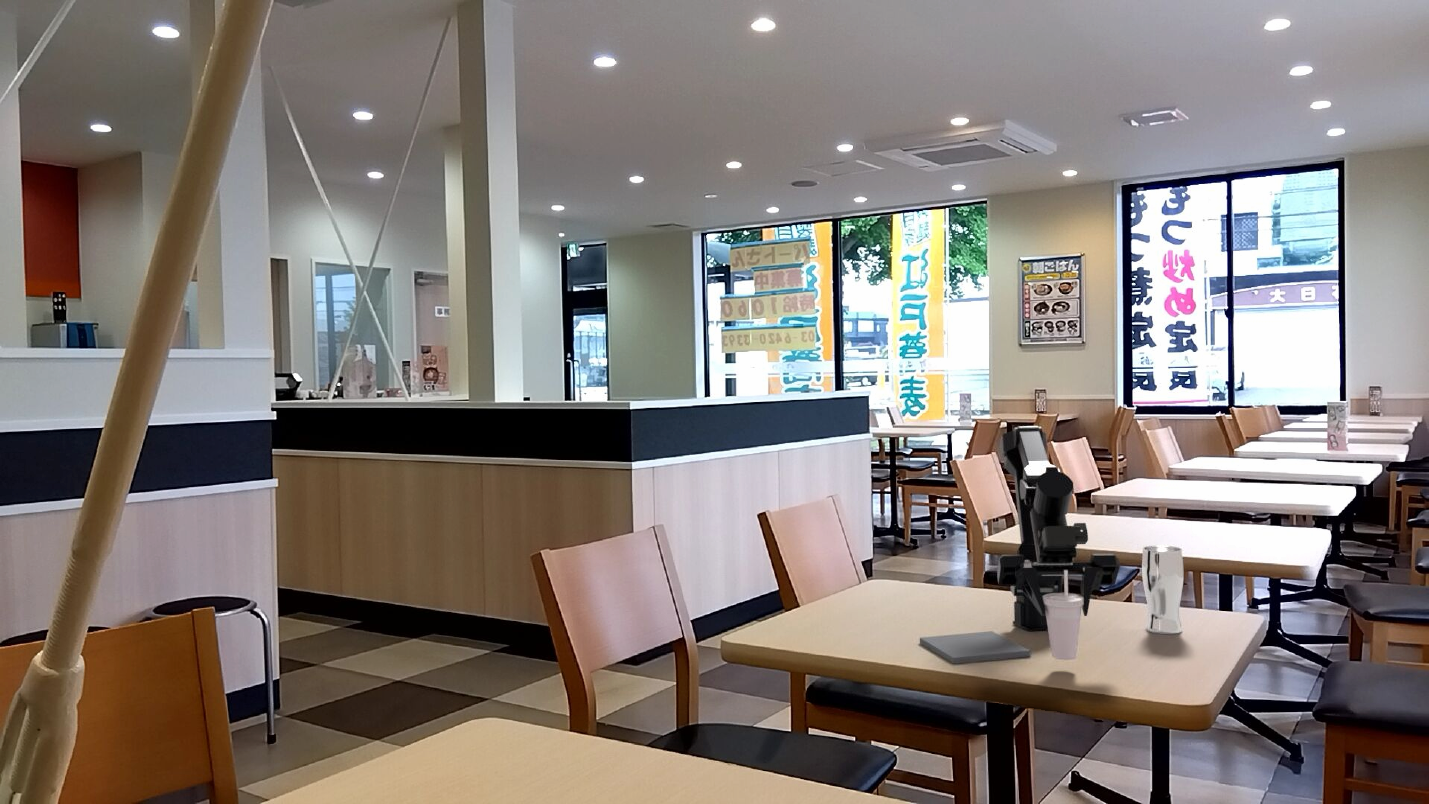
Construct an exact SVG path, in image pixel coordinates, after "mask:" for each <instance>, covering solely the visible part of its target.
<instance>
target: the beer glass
mask: <svg viewBox="0 0 1429 804" xmlns="http://www.w3.org/2000/svg"><path fill="white" fill-rule="evenodd" d="M1182 551H1183V550H1182V548H1180V547H1178V546H1173V545H1172V546H1171V545H1148V546H1143V547H1142V560H1141V561H1142V562H1141V576H1142V583H1143V589H1144V593H1145V599H1146V603H1147V604H1146V605H1147V619H1146V624H1145V630H1146V631H1148V632H1149V633H1154V634H1159V635H1177V634H1180V633H1182V632H1183V628H1182V623H1181V617H1180V605H1181V599H1182V592H1183V587H1184V586H1183V585H1184V560H1183V553H1182Z"/></svg>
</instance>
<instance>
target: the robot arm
mask: <svg viewBox="0 0 1429 804" xmlns="http://www.w3.org/2000/svg"><path fill="white" fill-rule="evenodd" d="M1047 445H1048V444H1047V434H1046V433H1045V432H1044V431H1043V428H1042V427H1041V426H1038V425H1027V426H1026V425H1025V426H1024V425H1023V426H1021V425H1020V426H1019V425H1018V426H1017V427H1014V428H1013V430H1011V431H1009V432H1008V431H1007V432H1005V433H1003V434H1002V435H1001V437H1000V439H999V453H1000V454H999V455H1000V457H1001V458H1003V463H1004V468H1005V470H1006V471H1007V472H1008V473H1009V474H1010V475H1011V477H1013V479H1014V489H1015V498H1016V507H1017V518H1018V525H1019V536H1020V545H1019V547H1018V549H1017V551H1016V554H1013V553H1012V554H1001V555H1000V557H999V558H998V562H997V563H998V564H997V570H996V572H997V573H996V574H997V577H996V578H997V583H998V585H999V586H1001V587H1010V592H1011V594H1012V596H1013V597H1015V601H1014V602H1013V613H1014V614H1013V615H1014V619H1013V620H1012V624H1013V625H1014V626H1017V627H1019V628H1021V629H1024V630H1026V631H1029V632H1033V631H1043V630H1044V631H1045V630H1048V625H1047V618H1046V612H1045V605H1044V602H1043V599H1042V597H1043V595H1045V594H1050V593H1063V582H1064V570H1068V576H1077V577H1078V576H1080V577H1081V583H1080V596H1082V597H1083V598H1084V605H1082V608H1081V611H1082V613H1083V616H1084V617H1087V616H1088V613H1089V612H1088V611H1089V606H1090V601H1091V595H1092V593H1093V591H1094V590H1095V591H1096V590H1099V589H1100V587H1102V586H1103V587H1111V586H1114V585H1116V582H1117V578H1118V575H1119V571H1120V567H1121V566H1120V561H1119V558H1118V557H1117V556H1116V555H1115V554H1114V553H1092V554H1091V555H1090V559H1089V562H1075V561H1074V558H1077V554H1078V553H1077V548H1076V547H1078V545H1086V544H1087V542H1088V541H1089V532H1088V528H1087V524H1086V522H1074V524H1073V525H1068V522H1067V516H1066V515H1067V514H1068V513H1069V511H1070V505H1071V500H1072V495H1074V494H1075V491H1074V481H1073V480H1072V478H1070V477H1069V476H1068V474H1065V473H1064V472H1061V470H1060V468H1059V467H1058V466H1055V465H1053V464H1051V463H1050V460H1049V457H1048V454H1047V452H1048V446H1047Z"/></svg>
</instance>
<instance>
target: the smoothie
mask: <svg viewBox="0 0 1429 804" xmlns="http://www.w3.org/2000/svg"><path fill="white" fill-rule="evenodd" d="M1063 582H1064V583H1063V586H1064V587H1063V588H1064V590H1063V591H1064V592H1062V593H1050V594H1045V595H1043V597H1042V599H1043V602H1044V605H1045V612H1046V618H1047V625H1048V629H1047V631H1048V637H1049V638H1048V639H1049V646H1050V652H1051V657H1052V658H1053V659H1056V660H1062V661H1063V660H1064V661H1069V660H1075V659H1076V658H1077V654H1078V653H1077V652H1078V643H1079V634H1080V624H1081V617H1082V605H1084V598H1083V597H1082V596H1081V594H1080V595H1079V594H1076V593H1069V578H1068V570H1064V576H1063Z"/></svg>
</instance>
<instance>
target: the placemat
mask: <svg viewBox="0 0 1429 804" xmlns="http://www.w3.org/2000/svg"><path fill="white" fill-rule="evenodd" d="M919 644H921V645H922V646H924V647H925V648H927V649H929V650H930V651H932V652H934V653H935V654H937V655H938V656H941V658H944V659H945V660H947V661H948V662H950V663H952V664H954V665H955V664H965V663H977V662H983V661H984V662H985V661H997V660H1006V659H1016V658H1017V659H1019V658H1028V657H1031V650H1030V649H1028V648H1026V647H1024V646H1023V645H1020V644H1018V643H1017V642H1015V641H1013V640H1010V639H1008V638H1006V637H1004V636H1003V635H1001V634H998V633H996V632H994V631H993V630H992V631H991V630H990V631H988V630H987V631H978V632H969V633H968V632H967V633H957V634H946V635H934V636H933V635H932V636H922V637H919Z"/></svg>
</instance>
